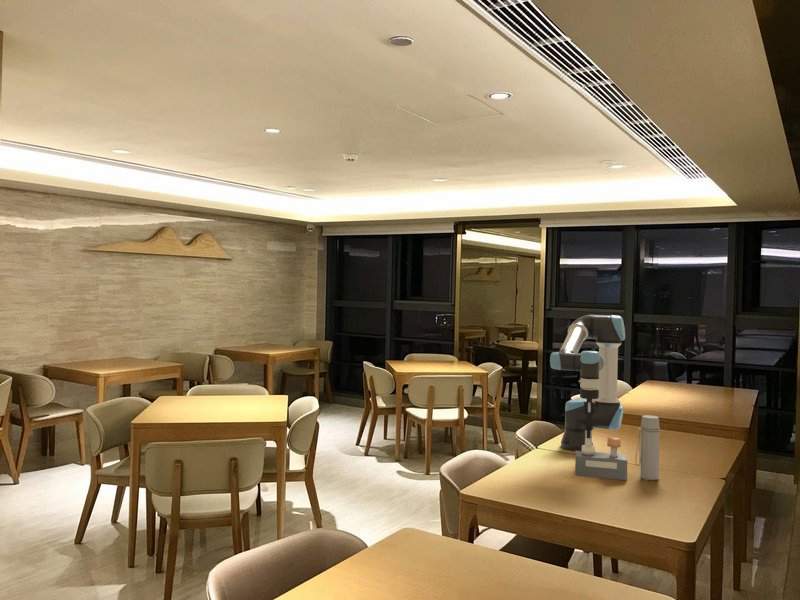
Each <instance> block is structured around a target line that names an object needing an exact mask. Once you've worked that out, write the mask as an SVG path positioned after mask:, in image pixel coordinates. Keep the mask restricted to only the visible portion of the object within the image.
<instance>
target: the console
mask: <svg viewBox="0 0 800 600" xmlns="http://www.w3.org/2000/svg"><path fill="white" fill-rule="evenodd" d="M574 462H575V465H574V470H575V471H574V477H575V476H576V477H584V478H585V477H586V478H594V479H608V480H617V481H628V457H627V455H626V454H624V453H623V454H621V453H617V458H615V457H611V452H610V453H609V452H600V451H599V452H597V451H595V454H594V455H585V454H582V451H575V461H574Z"/></svg>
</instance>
